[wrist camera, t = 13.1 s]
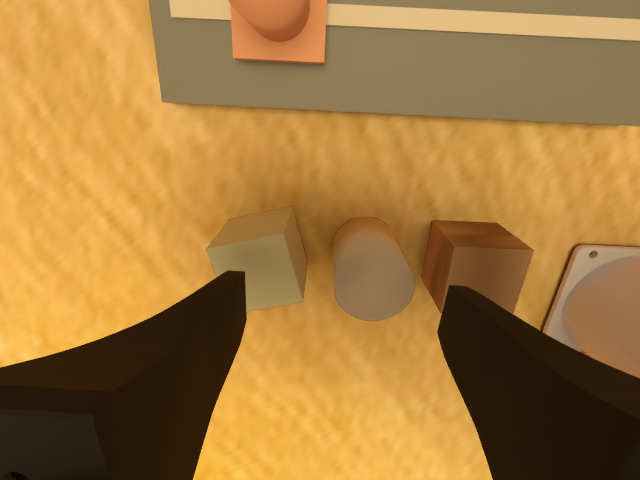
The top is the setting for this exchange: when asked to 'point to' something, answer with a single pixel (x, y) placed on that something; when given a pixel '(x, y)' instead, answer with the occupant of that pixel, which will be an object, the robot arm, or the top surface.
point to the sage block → (263, 257)
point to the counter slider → (279, 30)
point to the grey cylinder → (370, 270)
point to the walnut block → (475, 261)
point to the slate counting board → (421, 60)
